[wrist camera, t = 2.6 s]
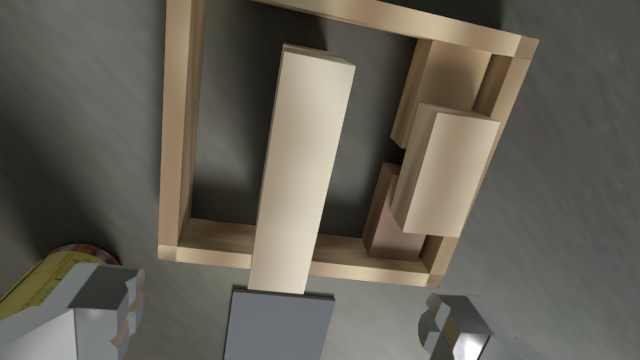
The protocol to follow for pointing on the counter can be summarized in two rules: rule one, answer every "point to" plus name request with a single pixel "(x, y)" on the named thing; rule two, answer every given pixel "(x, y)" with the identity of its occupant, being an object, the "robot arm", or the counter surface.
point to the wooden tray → (330, 250)
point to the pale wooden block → (298, 165)
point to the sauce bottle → (49, 276)
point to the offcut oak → (438, 82)
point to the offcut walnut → (388, 222)
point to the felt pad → (277, 326)
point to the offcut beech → (441, 169)
